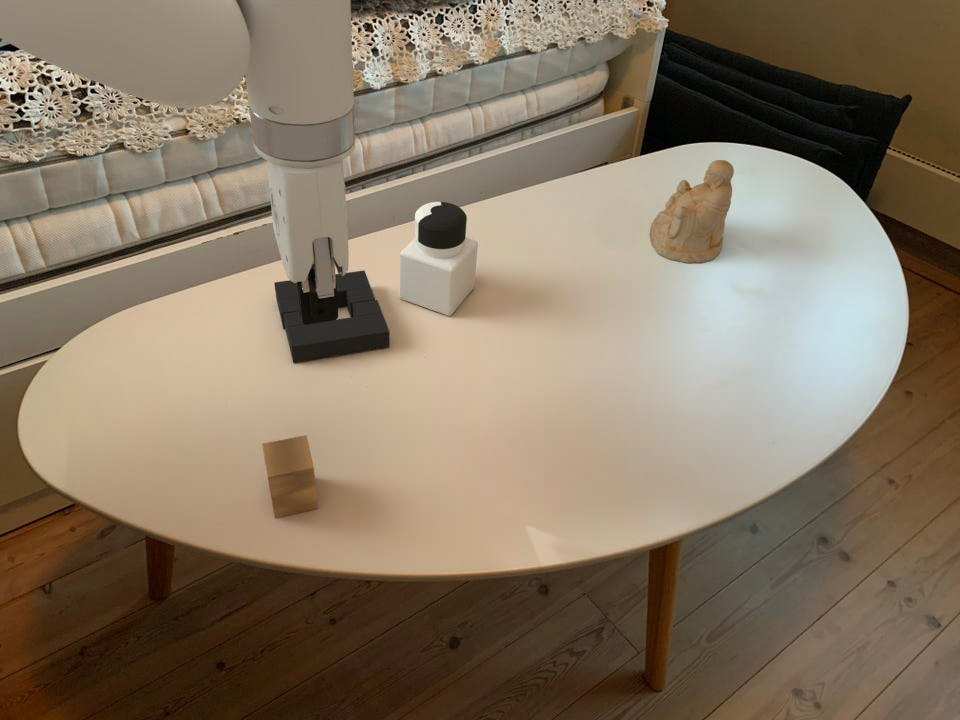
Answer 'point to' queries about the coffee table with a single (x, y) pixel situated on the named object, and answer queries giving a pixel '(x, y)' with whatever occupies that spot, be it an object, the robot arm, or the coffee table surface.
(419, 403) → the coffee table surface
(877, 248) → the coffee table surface
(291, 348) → the pad front
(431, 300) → the medicine bottle
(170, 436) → the coffee table surface
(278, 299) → the pad back
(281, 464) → the key
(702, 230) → the statue
